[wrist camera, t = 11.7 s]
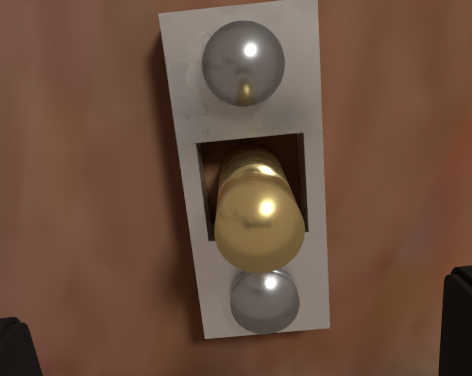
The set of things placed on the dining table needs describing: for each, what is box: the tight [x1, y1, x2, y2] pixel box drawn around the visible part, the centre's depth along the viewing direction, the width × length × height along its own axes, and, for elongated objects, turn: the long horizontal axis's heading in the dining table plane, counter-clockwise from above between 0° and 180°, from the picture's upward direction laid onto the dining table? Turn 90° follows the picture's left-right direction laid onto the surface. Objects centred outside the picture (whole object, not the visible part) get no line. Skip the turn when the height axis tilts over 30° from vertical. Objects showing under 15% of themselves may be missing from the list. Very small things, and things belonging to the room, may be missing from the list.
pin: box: [214, 144, 305, 273], centre depth 20 cm, size 3×3×8 cm
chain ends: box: [159, 0, 330, 339], centre depth 22 cm, size 17×7×4 cm, turn 6°
